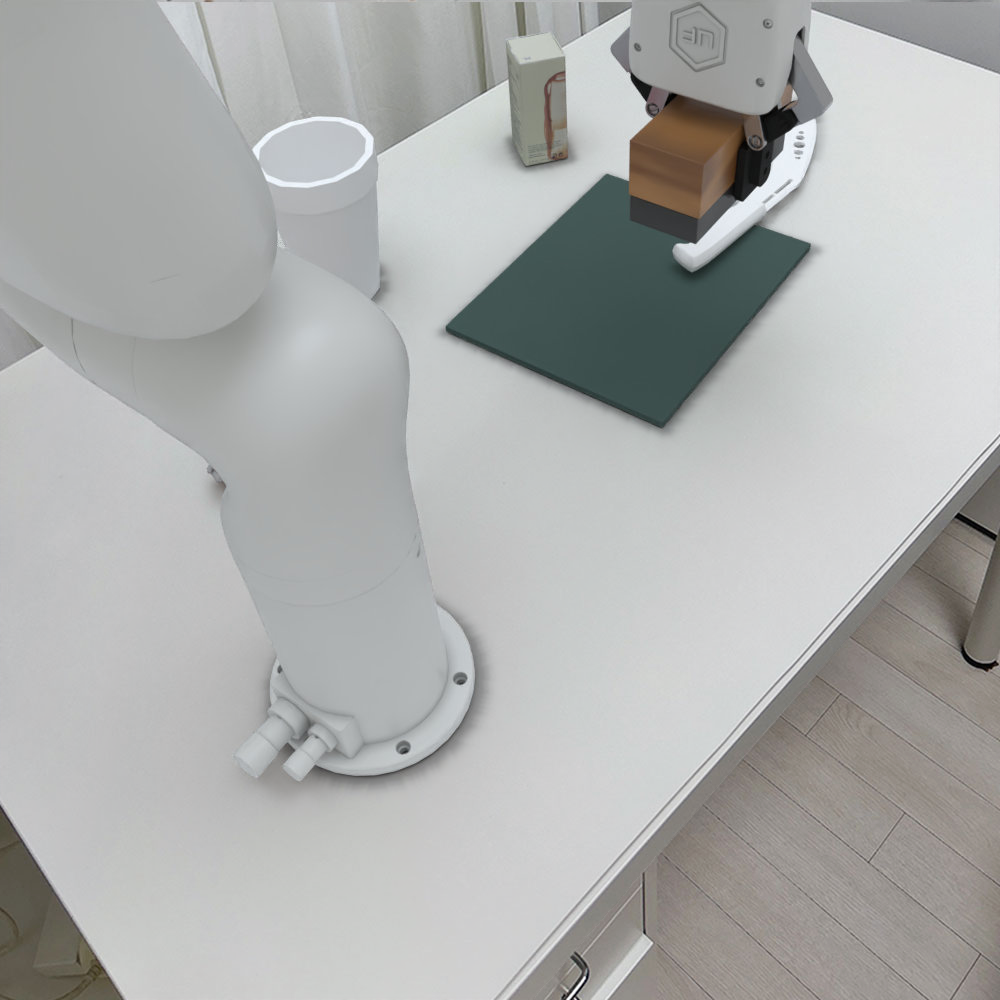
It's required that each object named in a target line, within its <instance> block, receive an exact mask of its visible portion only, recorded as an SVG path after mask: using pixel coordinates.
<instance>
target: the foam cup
mask: <svg viewBox="0 0 1000 1000" xmlns="http://www.w3.org/2000/svg"><path fill="white" fill-rule="evenodd" d="M375 143H376V142H375V138H374V136H373V135H372V133H370V132H369V130H368V129H367V128H366V127H365V126H364V125H363V124H361V123H358V122H356V121H353V120H350V119H348V118H345V117H342V116H341V117H340V116H338V117H337V116H317V115H316V116H312V117H307V118H302V119H298V120H293V121H288V122H287V123H284V124H282V125H281V126H279V127H277V128H275V129H272V130H271V131H269V132H267V133H266V134H265V135H264V136H263V137H262V138H261V139H260V140H259V141H258V142H257V143H256V144H255V145H254V146H253V147H252V151H253V153H254V154H255V156H256V158H257V159H258V161H259V163H260V166H261V168H262V171H263V173H264V176H265V178H266V181H267V183H268V186H269V189H270V192H271V195H272V199H273V203H274V208H275V212H276V220H277V233H278V234H279V236H280V239H281V241H282V244H283V246H284V248H285V250H287V251H289V252H291V253H293V254H295V255H297V256H299V257H301V258H303V259H305V260H307V261H309V262H311V263H313V264H315V265H317V266H319V267H321V268H323V269H325V270H327V271H329V272H330V273H332V274H334V275H336V276H338V277H339V278H341V279H343V280H344V281H346V282H347V283H349V284H350V285H352V286H354V287H355V288H357V289H358V290H359V291H361V292H362V293H363V294H364V295H366V296H367V297H368V298H370V299H371V300H372V299H373V298H374V296H375V295H377V292H378V291H379V290H380V287H381V286H380V284H381V264H380V262H381V261H380V238H379V235H380V234H379V213H378V209H379V208H378V189H377V188H378V186H377V185H378V184H377V182H378V181H379V159H378V155H377V154H378V153H377V149H376V144H375Z"/></svg>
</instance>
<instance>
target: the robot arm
mask: <svg viewBox="0 0 1000 1000" xmlns="http://www.w3.org/2000/svg"><path fill="white" fill-rule="evenodd" d="M812 4H813V0H631V9H630V19H629V21H630V22H629V26H628V27H627V28H626V29H625V30H624V31H623V32H622V33H621V34H620V35H619V36H618V38H617V39H615V41H614V42H612V43H611V44H610V49H609V50H610V53H611V55H612V56H613V57H614V58H615V60H616V61H617V62H618V64H620V66H621V67H622V69H624V71H625V72H626V73H628V74H630V75H629V77H630V78H629V79H630V82H631V83H632V85H633V86H634V87H635V88H636V91H638V93H639V94H640V96H641V97H642V98H643V100H644V101H645V107H644V108H645V109H644V110H645V113H646V114H647V115H648V117H650V118H651V119H653V118H654V117H655V116H656V115H657V114H658V113H659V112H660V111H661V110H662V109H664V108H665V107H666V106H667V105H668V104H669V103H670V102H671V101H672V100H673V99H674V98H675V97H676V96H677V95H681V96H685V97H688V98H691V99H694V100H698V101H701V102H704V103H708V104H711V105H714V106H718V107H721V108H724V109H728V110H731V111H735V112H739V113H741V115H742V120H743V125H744V130H745V135H746V141H745V142H744V143H743V144H742V145H741V146H740V147H739V149H738V154H737V163H736V173H735V182H734V188H733V197H735V200H738V201H741V202H743V201H744V200H745V199H746V198H747V197H748V196H749V195H750V194H751V193H752V192H753V191H754V189H755V188H756V187H757V186H758V187H761V186H762V185H763V184H764V183H765V182H766V181H767V179H768V177H769V174H770V170H771V164H772V163H771V162H772V154H773V147H774V140H775V139H777V138H779V137H780V136H782V135H784V134H786V133H787V132H789V131H791V130H792V129H793V128H794V127H796V126H798V125H800V124H801V125H802V124H804V123H806V122H808V121H810V120H813V119H817V118H819V117H821V116H822V115H824V113H826V111H827V110H828V109H829V108H830V107H831V106H832V105H833V102H834V98H833V95H832V93H831V91H830V90H829V88H828V86H827V84H826V82H825V80H824V78H823V77H822V75H821V73H820V71H819V69H818V68H817V66H816V64H815V62H814V61H813V59H812V57H811V55H810V53H809V52H808V50H809V42H810V31H811V22H812V21H811V20H812V6H813V5H812ZM789 84H791V86H792V88H793V92H794V93H795V96H796V97H797V100H791V102H790V103H788V104H787V105H785V106H783V107H782V103H781V98H782V95H783V93H784V90H785V87H786V85H789ZM278 238H279V237H278V229H277V220H276V212H275V208H274V203H273V199H272V195H271V192H270V189H269V186H268V183H267V181H266V178H265V176H264V173H263V171H262V168H261V166H260V163H259V161H258V159H257V158H256V156H255V154H254V153H253V148H251V146H250V144H249V142H248V141H247V139H246V137H245V135H244V134H243V132H242V130H241V129H240V127H239V126H238V124H237V122H236V120H235V119H234V118H233V116H232V115H231V113H230V111H229V110H228V109H227V107H226V105H224V102H223V101H222V100H221V99H220V97H219V95H218V94H217V92H216V91H215V90H214V88H213V87H212V85H211V84H210V82H209V80H208V79H207V77H206V76H205V74H204V73H203V71H202V70H201V68H200V67H199V65H198V64H197V62H196V60H195V58H194V57H193V56H192V54H191V52H190V51H189V49H188V48H187V46H186V45H185V43H184V42H183V40H182V38H181V37H180V35H179V34H178V32H177V31H176V29H175V28H174V26H173V25H172V23H171V22H170V20H169V18H168V17H167V15H166V14H165V12H164V11H163V9H162V8H161V7H160V5H159V3H158V2H157V0H0V309H1V310H2V311H3V312H4V313H6V315H8V316H9V317H10V318H11V319H12V320H13V321H14V322H16V323H17V324H18V325H19V326H20V327H21V328H22V329H23V330H25V331H26V332H27V333H29V335H31V336H32V337H33V338H34V339H35V340H37V342H39V343H40V344H41V345H42V346H44V347H45V349H47V350H48V351H49V352H50V353H51V354H53V355H54V356H55V357H57V358H58V359H59V360H60V361H61V362H63V363H64V364H65V365H66V366H67V367H68V368H70V369H71V370H73V371H74V372H75V373H77V374H78V375H79V376H81V377H82V378H84V379H85V380H87V381H89V382H90V383H91V384H93V385H94V386H96V387H97V388H98V389H100V390H102V391H104V392H105V393H107V394H108V395H110V396H112V397H113V398H115V399H116V400H118V401H119V402H121V403H123V404H124V405H125V406H127V407H129V408H130V409H132V410H134V411H135V412H137V414H140V415H141V416H143V417H144V418H146V419H147V420H149V421H151V423H153V424H154V425H155V426H156V427H157V428H159V429H160V430H162V431H163V432H165V433H167V434H168V435H169V436H171V437H172V438H174V439H176V440H177V441H178V442H181V443H182V444H183V445H184V446H186V447H188V448H189V449H191V450H192V451H193V452H195V453H196V454H197V455H198V456H200V457H201V458H202V459H203V460H205V462H206V463H207V464H208V465H209V464H210V465H211V466H212V467H213V469H214V470H215V471H216V472H217V473H218V474H219V475H220V477H221V478H222V481H223V484H224V485H225V488H224V490H223V493H222V495H221V500H220V507H219V517H220V523H221V528H222V531H223V535H224V538H225V541H226V544H227V546H228V549H229V551H230V553H231V556H232V558H233V560H234V562H235V563H234V564H235V565H236V568H237V570H238V572H239V573H240V575H241V577H242V579H243V582H244V585H245V586H246V589H247V591H248V594H249V596H250V598H251V600H252V603H253V605H254V607H255V609H256V612H257V614H258V616H259V619H260V621H261V623H262V625H263V628H264V630H265V633H266V635H267V638H268V639H269V642H270V644H271V646H272V649H273V651H274V653H275V656H276V658H275V661H274V663H273V665H272V670H271V675H270V679H269V701H270V705H271V706H270V707H269V708H267V710H266V713H267V715H268V718H267V719H266V720H265V721H264V722H263V724H261V726H260V727H259V728H258V729H257V730H256V731H253V733H251V735H249V737H248V738H247V739H246V740H245V741H244V742H243V743H242V744H241V745H240V747H238V748H237V750H236V751H235V752H234V753H233V754H232V756H231V757H232V759H233V760H234V762H235V763H236V764H237V765H238V766H239V767H240V768H241V769H242V770H243V771H244V772H245V773H247V774H248V775H249V776H251V777H253V778H256V779H258V778H259V777H260V776H261V775H262V773H264V772H265V770H266V769H267V768H268V767H269V766H270V765H271V764H272V762H273V761H274V760H275V759H276V758H277V757H278V756H279V752H280V751H281V750H282V749H283V748H284V747H285V746H286V745H287V743H288V745H289V746H290V747H292V749H293V750H294V752H292V754H291V755H290V756H289V757H288V758H287V759H286V760H285V761H284V762H283V764H282V765H281V766H282V769H283V770H284V771H285V772H286V773H287V775H289V776H290V777H291V778H292V779H293V780H295V781H297V782H302V780H304V778H305V777H306V776H307V775H308V774H309V772H310V771H311V770H312V769H313V768H314V767H315V766H316V767H319V768H321V769H324V770H327V771H329V772H332V773H335V774H342V775H347V776H355V777H359V776H360V777H361V776H362V777H365V776H367V777H368V776H380V775H383V774H387V773H393V772H397V771H400V770H402V769H406V768H407V767H410V766H412V765H415V764H417V763H419V762H420V761H421V760H423V759H425V758H427V757H428V756H430V755H432V754H433V753H434V752H436V751H437V750H438V749H439V748H440V747H441V746H443V745H444V744H445V743H446V742H447V741H448V740H450V738H451V737H452V735H453V734H454V733H455V731H457V729H458V728H459V727H460V725H461V724H462V722H463V720H464V718H465V716H466V714H467V712H468V711H469V708H470V706H471V702H472V699H473V695H474V693H475V682H476V670H475V661H474V656H473V652H472V647H471V643H470V641H469V639H468V637H467V635H466V633H465V632H464V629H463V628H462V626H461V625H460V624H459V623H458V622H457V621H456V619H455V617H453V616H452V615H451V614H450V613H449V612H448V611H447V610H445V609H444V608H443V607H442V606H441V605H439V604H437V601H436V597H435V592H434V588H433V587H434V586H433V582H432V576H431V572H430V568H429V563H428V558H427V553H426V548H425V543H424V538H423V534H422V529H421V524H420V519H419V516H418V515H419V514H418V509H417V504H416V502H415V498H414V497H415V496H414V492H413V487H412V482H411V474H410V471H409V463H408V455H407V454H408V453H407V420H408V408H409V398H410V385H411V384H410V382H411V381H410V380H411V373H410V371H411V370H410V359H409V355H408V350H407V346H406V344H405V342H404V339H403V337H402V335H401V333H400V331H399V329H398V328H397V326H396V325H395V323H394V322H393V321H392V319H391V318H390V317H389V316H388V315H387V314H386V312H385V311H384V310H383V309H382V308H381V307H380V306H379V305H378V304H377V303H376V302H374V301H373V300H372V299H370V298H368V297H367V296H366V295H364V294H363V293H362V292H361V291H359V290H358V289H357V288H355V287H354V286H352V285H350V284H349V283H347V282H346V281H344V280H343V279H341V278H339V277H338V276H336V275H334V274H332V273H330V272H329V271H327V270H325V269H323V268H321V267H319V266H317V265H315V264H313V263H311V262H309V261H307V260H305V259H303V258H301V257H299V256H297V255H295V254H293V253H291V252H289V251H287V250H286V248H282V247H281V246H279V245H278V242H279V241H278ZM404 752H406V753H404Z"/></svg>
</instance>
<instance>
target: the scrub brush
mask: <svg viewBox="0 0 1000 1000" xmlns="http://www.w3.org/2000/svg"><path fill="white" fill-rule="evenodd" d="M793 92H794V90H793V88H792V86H791V84H789V85H786V87H785V90H784V93H783V95H782V98H781V103H782V107H783V106H785V105H787V104H788V103H790V102H792V101H793V100H792V99H793ZM784 140H785V134H784V135H782V136H780V137H779V138H777V139H775V140H774V147H773V154H772V162H773V160H774V159H775V158H776V157H777V156H778V155H779V154H780V153H781V152H782V151H783V147H784ZM745 141H746V135H745V130H744V125H743V120H742V115H741V113H739V112H735V111H731V110H728V109H724V108H721V107H718V106H714V105H711V104H708V103H704V102H701V101H698V100H694V99H691V98H688V97H685V96H681V95H677V96H676V97H675V98H674V99H673V100H672V101H671V102H670V103H669V104H668V105H667V106H666V107H665V108H664V109H662V110H661V111H660V112H659V113H658V114H657V115H656V116H655V117H654V118H651V120H649V122H647V123H646V125H644V126H643V127H642V128H641V129H640V130H639V131H638V132H637V133H635V135H633V136H632V137H631V139H629V153H628V156H629V157H628V158H629V159H628V161H629V163H628V181H629V195H630V221H633V222H636V223H638V224H641V225H644V226H647V227H649V228H652V229H655V230H658V231H660V232H663V233H666V234H668V235H671V236H674V237H677V238H679V239H682V240H685V241H688V242H690V243H693V244H697V243H698V242H699V240H700V239H701V238H702V237H703V236H704V235H705V234H706V233H707V232H708V231H709V230H710V229H711V227H712V226H713V225H714V224H715V223H716V222H717V221H718V220H719V219H720V218H721V217H722V216H723V215H724V213H725V212H726V211H727V210H728V209H729V208H730V207H731V206H732V205H733V204H734V203H735V202H736V200H735V197H733V188H734V182H735V173H736V163H737V154H738V149H739V147H740V146H741V145H742V144H743V143H744V142H745ZM772 162H771V164H772Z"/></svg>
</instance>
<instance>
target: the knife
mask: <svg viewBox="0 0 1000 1000" xmlns="http://www.w3.org/2000/svg"><path fill="white" fill-rule="evenodd" d="M816 119H817V118H815V119H813V120H810V121H808V122H806V123H804V124H802V125H801V124H800V125H798V126H796V127H794V128H793V129H792V130H791V131H789V132H787V133H786V134H785V140H784V147H783V151H782V152H781V153H780V154H779V155H778V156H777V157H776V158H775V159H774V160H773V162H772V163H771V170H770V174H769V177H768V179H767V181H766V182H765V183H764V184H763V185H762V186H761V187H758V186H757V187H756V188H755V189H754V191H753V192H752V193H751V194H750V195H749V196H748V197H747V198H746V199H745V200H744V201H743V202H741V201H738V200H736V202H735V203H734V204H733V205H732V206H731V207H730V208H729V209H728V210H727V211H726V212H725V213H724V215H723V216H722V217H721V218H720V219H719V220H718V221H717V222H716V223H715V224H714V225H713V226H712V227H711V229H710V230H709V231H708V232H707V233H706V234H705V235H704V236H703V237H702V238H701V239H700V240H699V242H698V243H697V244H693V243H689V244H681V243H679V244H676V245H675V246H674V248H673V256H674V258H675V259H676V260H677V262H678V263H679V264H681V265H682V266H683V267H684V268H686V269H687V270H689V271H690V272H694V271H697V270H698V269H700V268H701V267H703V266H704V265H706V264H707V263H709V262H710V261H711V260H713V259H714V258H715V257H716V256H718V255H719V254H720V253H721V252H722V251H724V250H725V249H726V248H727V247H728V246H730V245H731V244H732V243H733V242H734V241H736V240H737V239H738V238H739V237H740V236H742V235H743V234H744V233H745V232H746V231H748V230H749V229H750V228H751V227H752V226H754V225H757V224H758V223H759V222H760V221H761V220H763V219H764V218H765V217H766V214H767V212H768V211H769V210H771V209H772V208H773V207H774V206H776V205H777V204H778V203H780V201H782V200H783V199H784V198H785V197H787V195H789V194H790V193H791V192H793V190H796V189H797V188H799V187H800V186H801V183H802V181H803V180H804V178H805V175H806V173H807V170H808V168H809V165H810V162H811V160H812V157H813V153H814V149H815V145H816V141H817V132H818V130H817V120H816ZM798 145H799V146H803V147H797V146H798Z"/></svg>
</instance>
